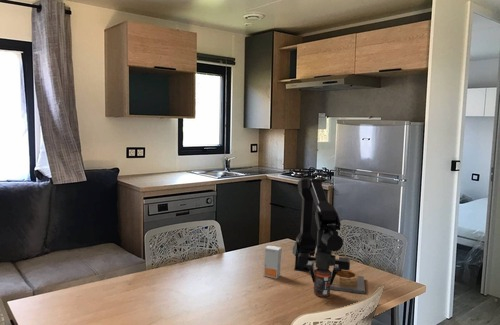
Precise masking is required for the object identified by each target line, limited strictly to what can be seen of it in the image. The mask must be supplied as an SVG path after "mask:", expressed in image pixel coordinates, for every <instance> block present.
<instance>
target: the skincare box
mask: <svg viewBox="0 0 500 325" xmlns="http://www.w3.org/2000/svg"><path fill="white" fill-rule="evenodd" d="M263 260H264V261H263V275H262V276H263V277H268V278H272V279H276V280H277V279H278V278H279V277H280V275H281V266H282V264H281V262H282V247H280V246H275V245H274V246H273V245H267V246H265V248H264V258H263Z"/></svg>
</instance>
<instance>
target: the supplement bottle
mask: <svg viewBox="0 0 500 325" xmlns="http://www.w3.org/2000/svg"><path fill="white" fill-rule="evenodd" d="M314 271H315V279H314V283H313V293H314V295H316V296H318V297H323V298H324V297H325V298H326V297H328V296H330V294H331V289H330V283H331V270H330V268H329V269H323V268H316V269H314Z"/></svg>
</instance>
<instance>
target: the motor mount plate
mask: <svg viewBox="0 0 500 325" xmlns="http://www.w3.org/2000/svg"><path fill="white" fill-rule="evenodd" d="M331 276H332V272H331ZM365 288H366V287H365V276H363V275H358V273H357V272H355V271H353V270H342V271H338V273H337V274H336V276H335V278H334V280H333V283H332V285H330V290H333V291H341V292H348V293H354V294H355V293H356V294H362V295H365V292H366V289H365Z"/></svg>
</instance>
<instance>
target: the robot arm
mask: <svg viewBox="0 0 500 325" xmlns="http://www.w3.org/2000/svg"><path fill="white" fill-rule="evenodd" d="M297 189H298V193H299V195H300V196H301V215H300V232H299V233H298V234H297V236H296V238H295V242H294V245H293V246H292V254H293V255H294V257H295V260H294V268H293V269H294V271H302V272H309V273H310V276H311V280H312V283H313V284H314V279H315V268H316V269H318V268H323V269H329V270H330V267H332V276H331V283H330V285H332V283H333V280H334V278H335V276H336V274H337V273H338V271H342V270H350V269H351V259H350V258H349V257H342V256H339V258H338V259H336V256H337V255H334V254H333V252H338V251H340V250H341V249H342V247H343V245H344V239H343V238H342V237H341V235H339V231H341V226H342V224H341V221H340V217H339V213H338V212H337V210H336V208H335V207H334V205H333V204H331V203H330V202H329V200H328V198H327V195H326V192H325V190H324V186H323V181H322V179H321V178H310V177H309V178H308V177H307V178H305V177H304V178H303V177H301V178H300V179H299V181H298V182H297ZM314 205H315V208H316V209H315V214H314V213H313V211H314V210H313V209H314ZM313 214H314V219H315V224H316V227H317V235H316V240H315V237H314V236H313V235H312V230H313V229H312V227H313V226H312V225H313ZM316 246H317V249H316Z"/></svg>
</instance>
